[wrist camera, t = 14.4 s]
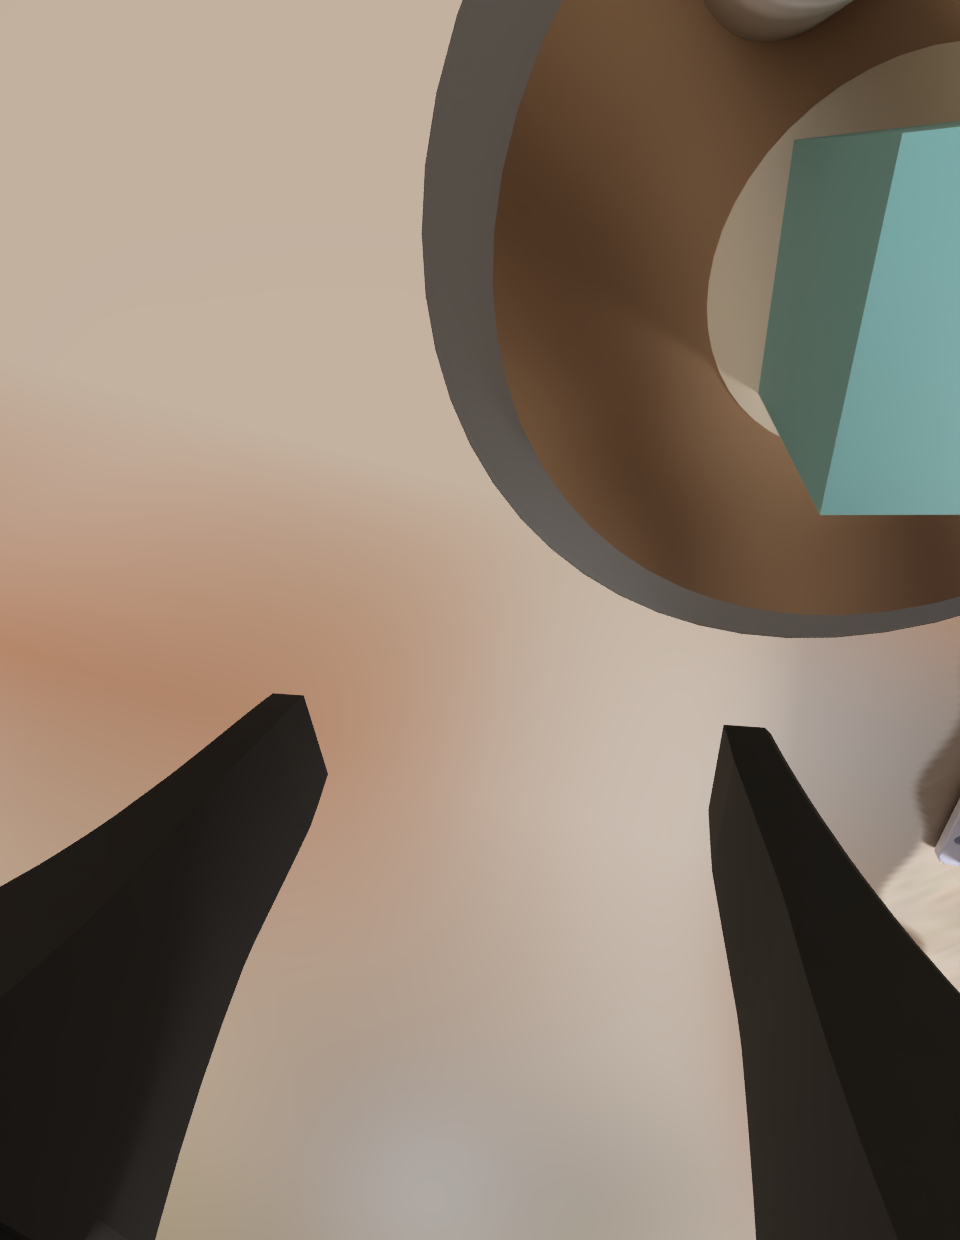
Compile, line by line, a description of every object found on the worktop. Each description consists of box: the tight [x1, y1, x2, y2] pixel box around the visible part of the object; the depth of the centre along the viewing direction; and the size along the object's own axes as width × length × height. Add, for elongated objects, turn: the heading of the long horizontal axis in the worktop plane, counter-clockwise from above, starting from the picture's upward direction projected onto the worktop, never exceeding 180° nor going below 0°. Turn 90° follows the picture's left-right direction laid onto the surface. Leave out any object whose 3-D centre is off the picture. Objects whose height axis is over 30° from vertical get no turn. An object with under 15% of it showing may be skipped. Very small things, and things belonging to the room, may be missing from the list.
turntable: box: [493, 0, 960, 615], centre depth 12 cm, size 16×16×6 cm
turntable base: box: [422, 0, 960, 638], centre depth 14 cm, size 20×20×2 cm
